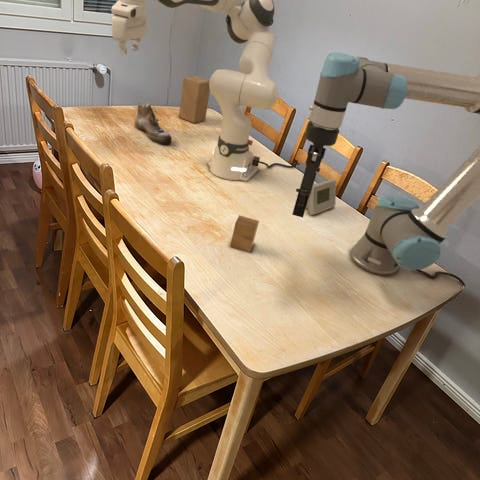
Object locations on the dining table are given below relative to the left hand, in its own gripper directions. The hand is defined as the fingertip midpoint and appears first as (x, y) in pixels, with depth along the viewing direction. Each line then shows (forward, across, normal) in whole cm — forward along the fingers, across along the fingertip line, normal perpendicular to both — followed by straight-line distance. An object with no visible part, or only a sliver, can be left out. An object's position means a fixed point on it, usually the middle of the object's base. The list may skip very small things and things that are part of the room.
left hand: (129, 51), depth 155 cm
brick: (+38, +40, +59) cm, 81 cm away
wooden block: (+38, -61, +8) cm, 72 cm away
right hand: (+15, +50, +72) cm, 89 cm away
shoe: (+38, -26, +1) cm, 47 cm away
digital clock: (+38, +1, +80) cm, 88 cm away
